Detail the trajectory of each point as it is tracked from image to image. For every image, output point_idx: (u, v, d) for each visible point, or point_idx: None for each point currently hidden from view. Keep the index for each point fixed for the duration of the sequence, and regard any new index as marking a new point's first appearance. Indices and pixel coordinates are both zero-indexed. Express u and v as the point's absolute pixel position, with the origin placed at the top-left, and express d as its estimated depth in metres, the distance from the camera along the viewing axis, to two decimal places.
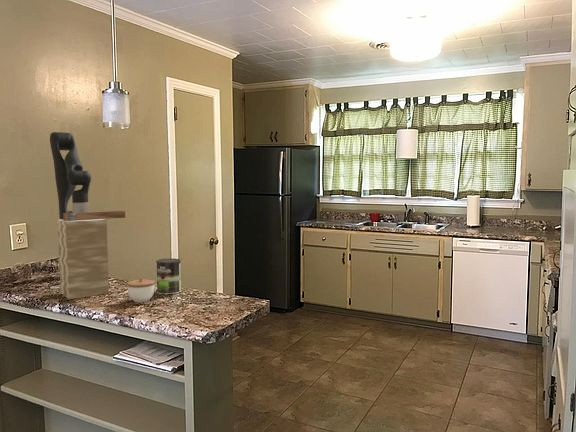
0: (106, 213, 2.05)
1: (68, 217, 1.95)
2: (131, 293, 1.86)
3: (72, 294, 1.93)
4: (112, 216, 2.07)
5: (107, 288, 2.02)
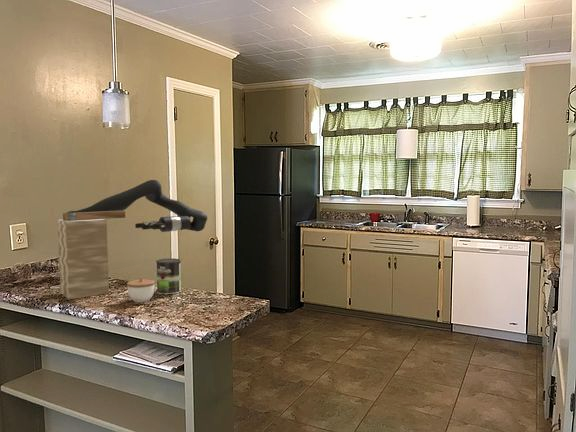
0: (106, 213, 2.05)
1: (68, 217, 1.95)
2: (131, 293, 1.86)
3: (72, 294, 1.93)
4: (112, 216, 2.07)
5: (107, 288, 2.02)
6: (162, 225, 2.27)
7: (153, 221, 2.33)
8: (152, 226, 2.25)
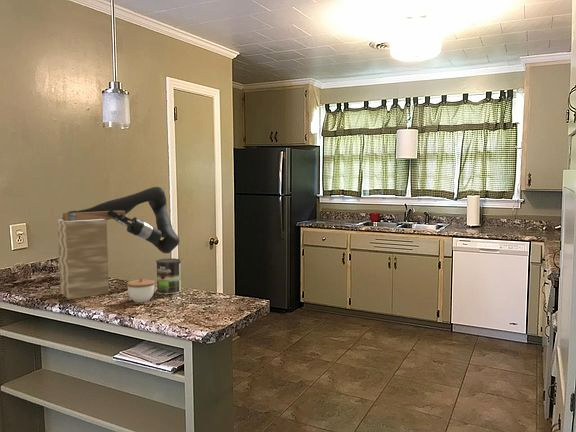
0: (106, 213, 2.05)
1: (68, 217, 1.95)
2: (131, 293, 1.86)
3: (72, 294, 1.93)
4: None
5: (107, 288, 2.02)
6: (129, 220, 2.07)
7: None
8: (118, 216, 2.06)
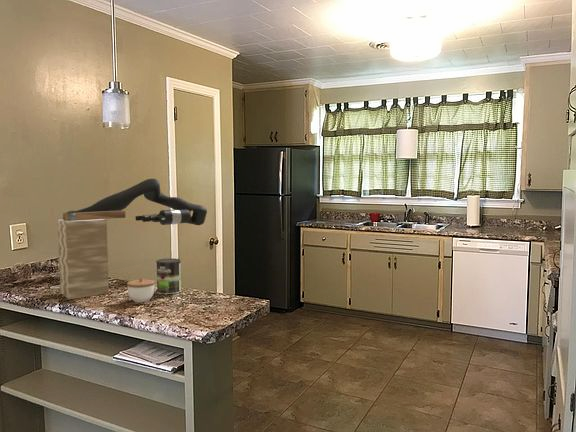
0: (106, 213, 2.05)
1: (68, 217, 1.95)
2: (131, 293, 1.86)
3: (72, 294, 1.93)
4: (112, 216, 2.07)
5: (107, 288, 2.02)
6: (162, 218, 2.27)
7: (153, 214, 2.33)
8: (152, 218, 2.25)
